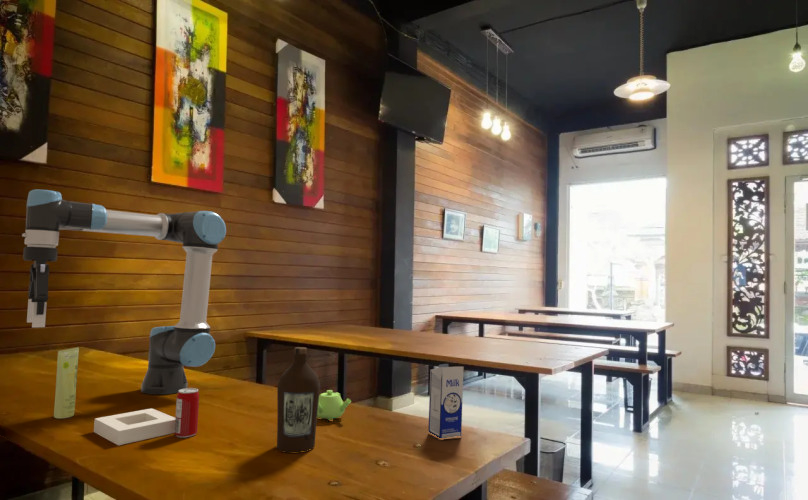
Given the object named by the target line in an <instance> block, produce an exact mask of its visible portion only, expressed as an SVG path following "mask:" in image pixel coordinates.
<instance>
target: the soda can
mask: <svg viewBox="0 0 808 500" xmlns="http://www.w3.org/2000/svg"><path fill="white" fill-rule="evenodd" d="M175 403H176V405H175V406H176V407H175V418H176V419H175V433H174V435H175V436H176V437H177V438H180V439H181V438H183V439H184V438H191V437H194V436H195V435H197V433H198V423H199V410H200V409H199V408H200V404H199V403H200V392H199V389H198V388H194V387H187V388H185V389H180V390H179V392H178V393H177V394H176V402H175Z"/></svg>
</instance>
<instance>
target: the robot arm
mask: <svg viewBox="0 0 808 500" xmlns="http://www.w3.org/2000/svg"><path fill="white" fill-rule="evenodd" d="M25 216H26V217H25V232H24V233H22V234H21V236H22V237H24V245H27V246H24V247H23V253H22V254H23V256H22V259H23V261H29V262H30V261H32V262H33V263H32V264H30V267H29V285H28V292H27V296H28V297H27V298H28V301H27V312H26V313H27V316H26V323H31V328H45V327H46V319H47V318H46V316H47V304H48V303H47V301H48V300H49V274H50V266H49V264H47V262H56V261H57V260H58V249H57V248H56V247H57V246H59V240H60V239H59V238H60V231H62V230H64V231H65V230H66V231H80V232H90V233H91V232H92V233H104V234H105V233H106V234H118V235H132V236H142V237H143V236H144V237H145V236H146V237H154V238H155V239H156V240H158V241H159V240H160V241H167V242H173V243H179V244H182V249H183V250H184V251H185V253H186V257H185V266H184V275H183V277H184V278H183V283H182V285H183V286H182V294H181V304H180V305H181V306H180V315H179V316H180V317H179V321H178V322H177V323H176V324H174V325H170V326H169V325H167V326H165V325H164V326H156V327H153V328H151V330H150V334H149V345H148V346H149V348H148V360H147V361H148V364H147V365H148V366H147V371H146V373H145V376H144V377H143V381H142V383H141V388H140V392H141V393H143V394H145V395H146V394H148V395H170V394H172V395H173V394H178V392H179V390H180V389H185V388H188V385H189V383H188V380H187V376H186V372H185V370H184V366H185V367H194V368H195V367H201V366H203V365H205V364H206V363H207V362H208V361H209V360H211V358H212V357H213V355H214V353H215V350H216V342H215V339H214V337H213V336H212V335H211V334H210V333H211V326H210V325H209V324H208V322H207V320H208V319H207V317H208V306H209V296H210V295H209V294H210V288H211V287H210V286H211V275H212V265H213V256H214V255H215V253H216V252H218V249H219V244H220V243H221V242H222V241H223V240H224V239H225V237H226V234H227V227H226V223H225V221H224V219H223V218H222V217H221V215H219V214H218V213H216V212H214V211H210V210H199V211H187V212H186V211H185V212H184V211H183V212H176V213H164V212H159V213H157V214H147V213H139V212H138V213H137V212H130V211H120V210H111V209H106V207H105V206H103V205H101V204H95V203H89V202H88V203H87V202H86V203H85V202H79V201H70V200H69V201H68V200H66V199H63V197H62V194H61V192H60V191H55V190H50V189H32V190H30V191H29V192H28V196H27V200H26V215H25Z"/></svg>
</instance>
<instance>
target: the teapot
mask: <svg viewBox="0 0 808 500" xmlns="http://www.w3.org/2000/svg"><path fill="white" fill-rule="evenodd" d="M333 391H334V390H332V389H328V390H326V392H323V393H319V401H318V411H317V418H322V419H327V421H328V420H332V419H333V420H334V419H336V418H338V417H340V418H341V417H342V415H344V413H345V411H346V409H347V407H348V406H349V405H350V404H351V402H352V400H351V399H350V398H346V400H345V401H343V399H342V397H341V393H339V392H333Z"/></svg>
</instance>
